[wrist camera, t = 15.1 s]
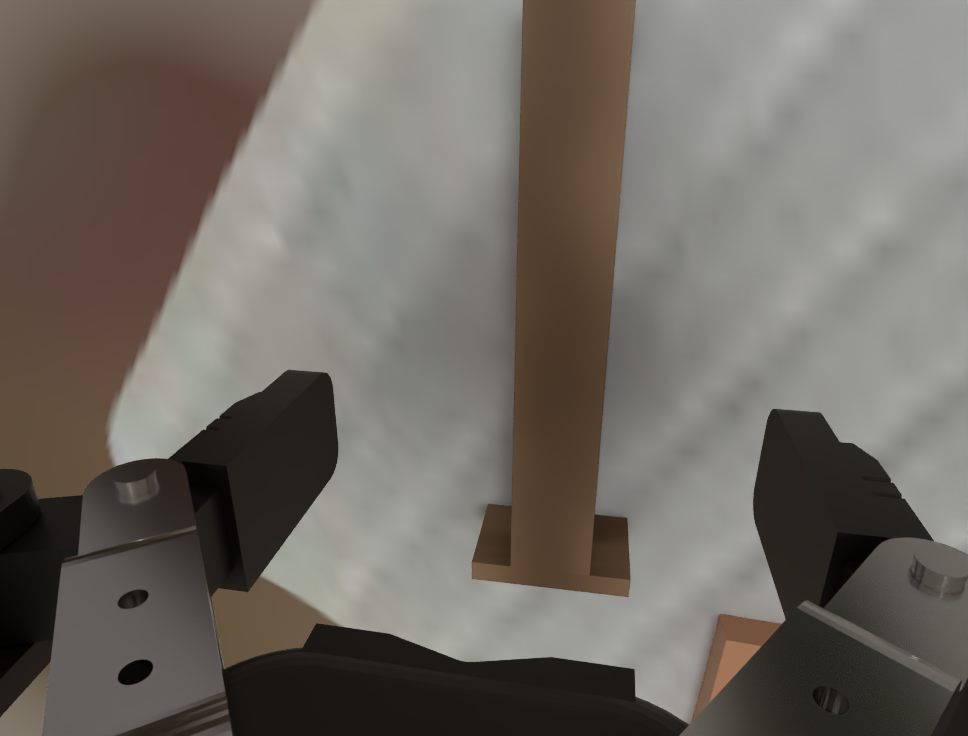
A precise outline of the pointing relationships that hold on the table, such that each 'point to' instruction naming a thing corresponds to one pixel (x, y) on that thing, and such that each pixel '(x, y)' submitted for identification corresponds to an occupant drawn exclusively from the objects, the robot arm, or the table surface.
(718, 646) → the tile
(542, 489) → the wooden post on base
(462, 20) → the table surface
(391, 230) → the table surface
